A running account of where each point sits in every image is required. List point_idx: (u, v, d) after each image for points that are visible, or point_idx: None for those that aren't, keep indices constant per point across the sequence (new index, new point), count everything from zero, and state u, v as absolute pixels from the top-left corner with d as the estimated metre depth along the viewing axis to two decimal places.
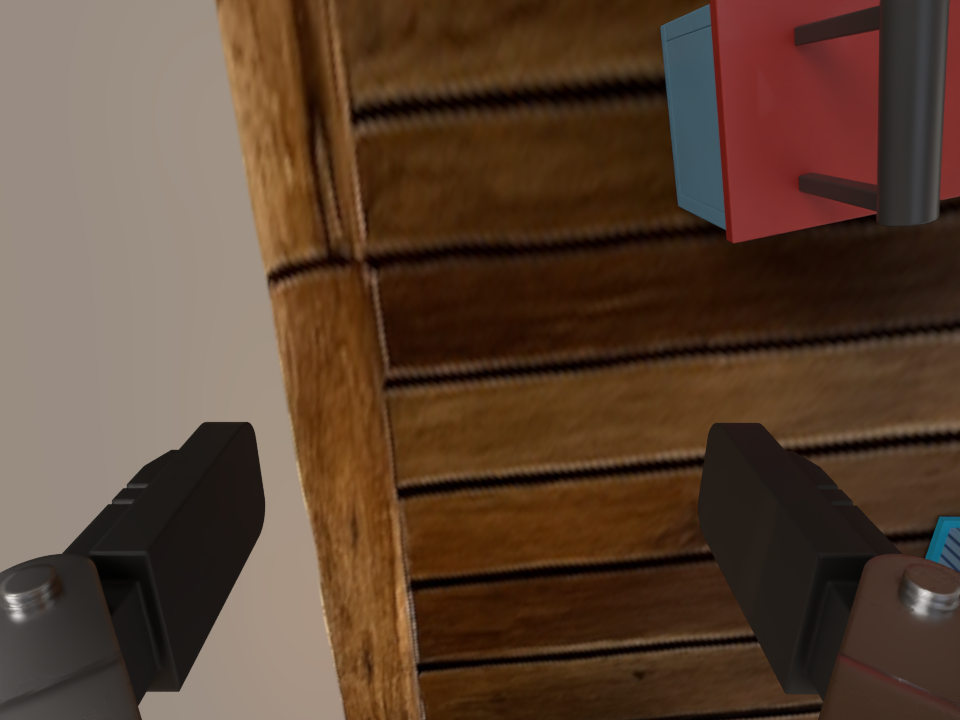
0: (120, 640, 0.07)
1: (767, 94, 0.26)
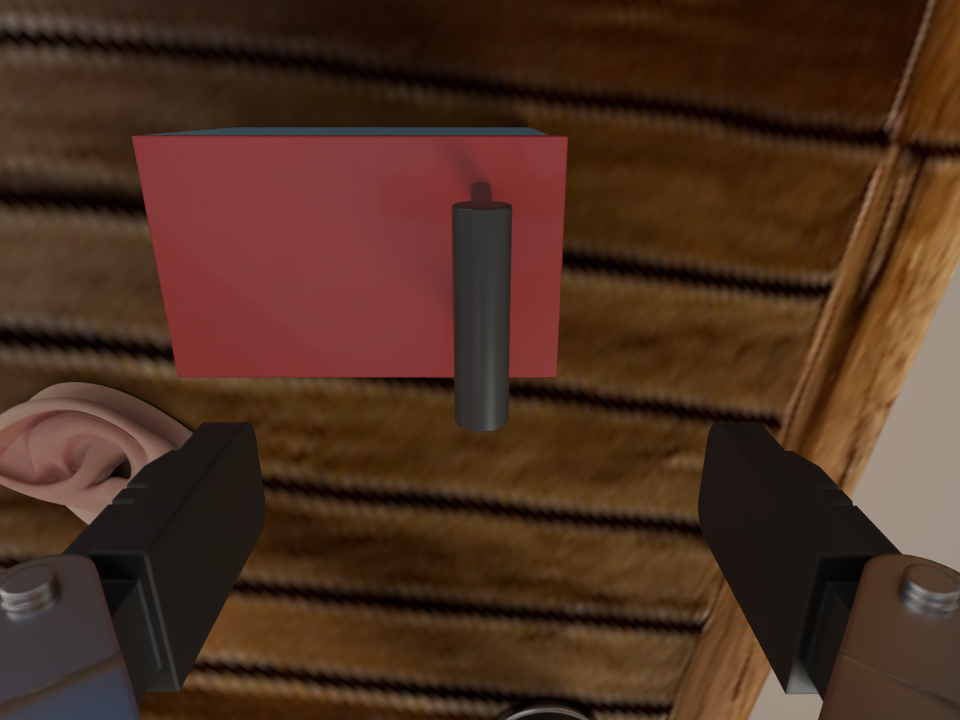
0: (120, 640, 0.07)
1: (516, 288, 0.26)
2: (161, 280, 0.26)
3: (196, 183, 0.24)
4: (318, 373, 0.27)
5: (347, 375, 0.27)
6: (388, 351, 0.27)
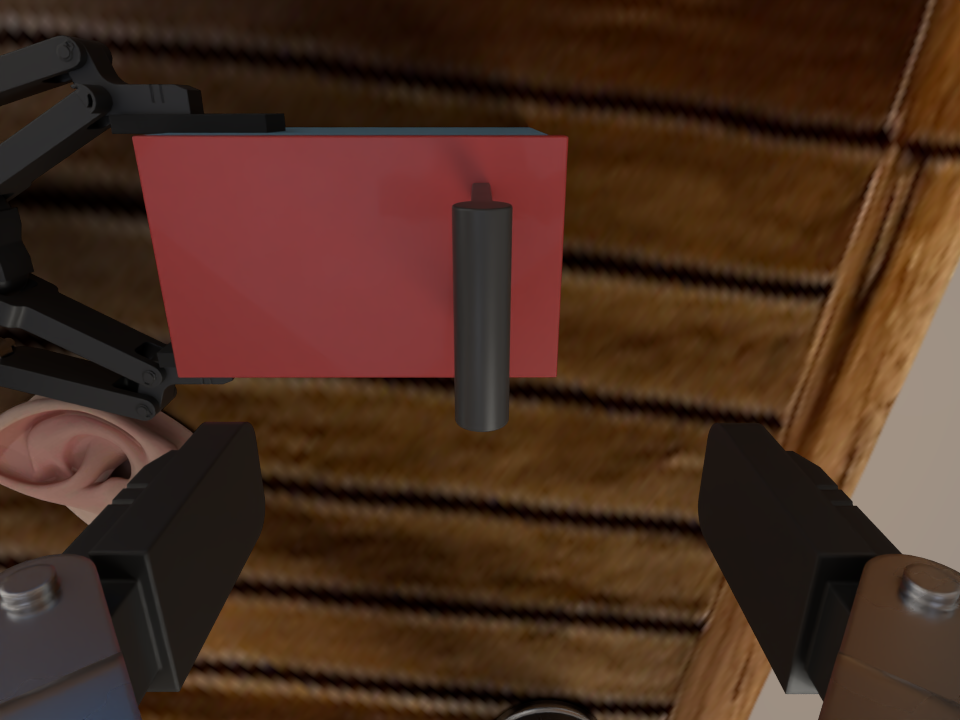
0: (120, 640, 0.07)
1: (516, 289, 0.26)
2: (161, 280, 0.26)
3: (196, 183, 0.24)
4: (318, 373, 0.27)
5: (347, 375, 0.27)
6: (388, 351, 0.27)
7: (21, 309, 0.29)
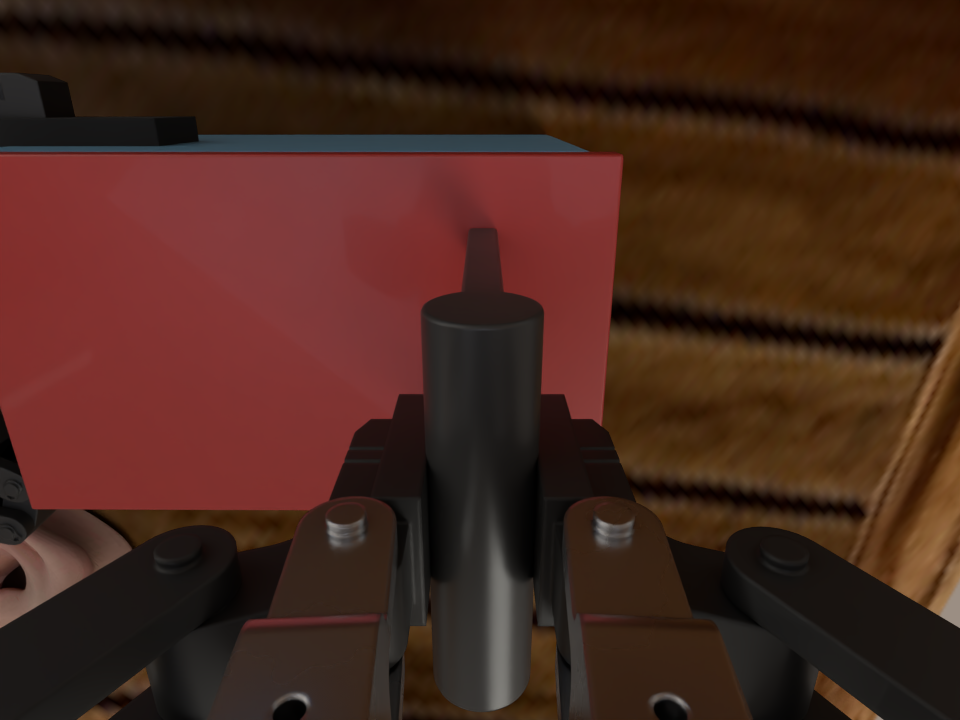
0: (405, 572, 0.08)
1: None
2: None
3: (32, 229, 0.15)
4: (240, 504, 0.18)
5: (283, 508, 0.18)
6: None
7: None
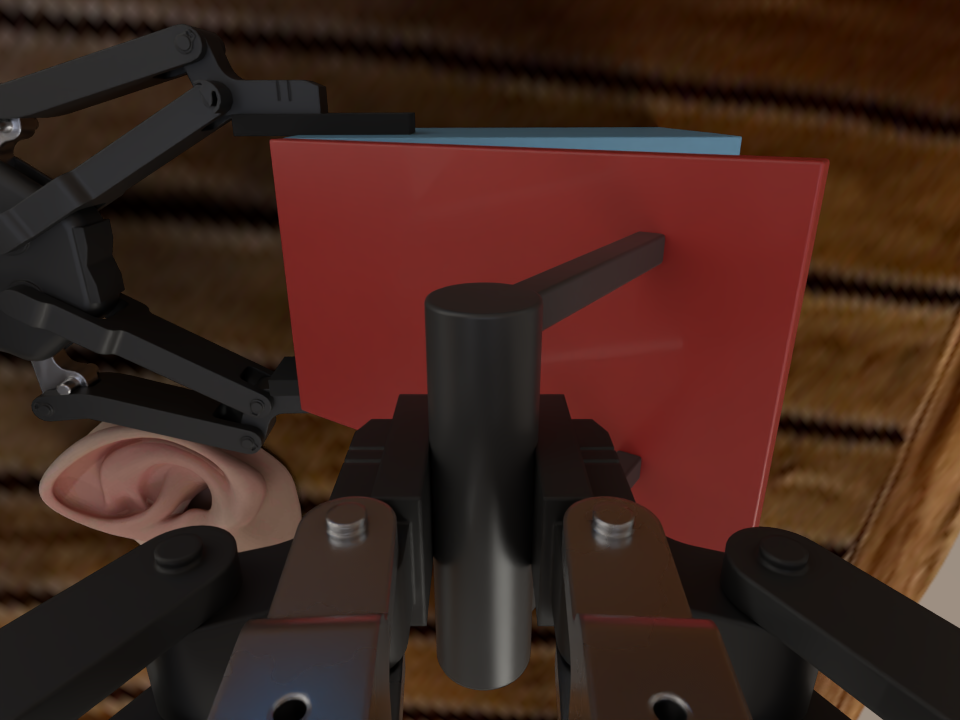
0: (405, 573, 0.08)
1: (693, 412, 0.15)
2: (289, 302, 0.23)
3: (319, 198, 0.20)
4: None
5: None
6: None
7: (118, 334, 0.26)
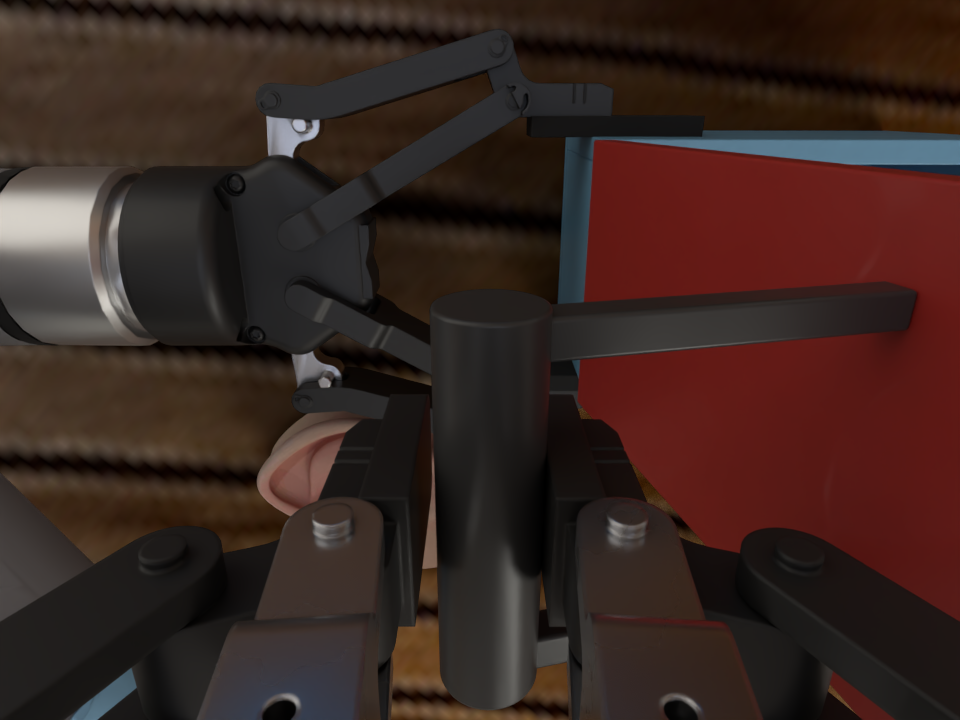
0: (392, 573, 0.08)
1: (913, 551, 0.11)
2: (584, 297, 0.24)
3: (616, 200, 0.20)
4: (650, 478, 0.20)
5: (669, 503, 0.19)
6: (710, 506, 0.17)
7: (388, 329, 0.27)
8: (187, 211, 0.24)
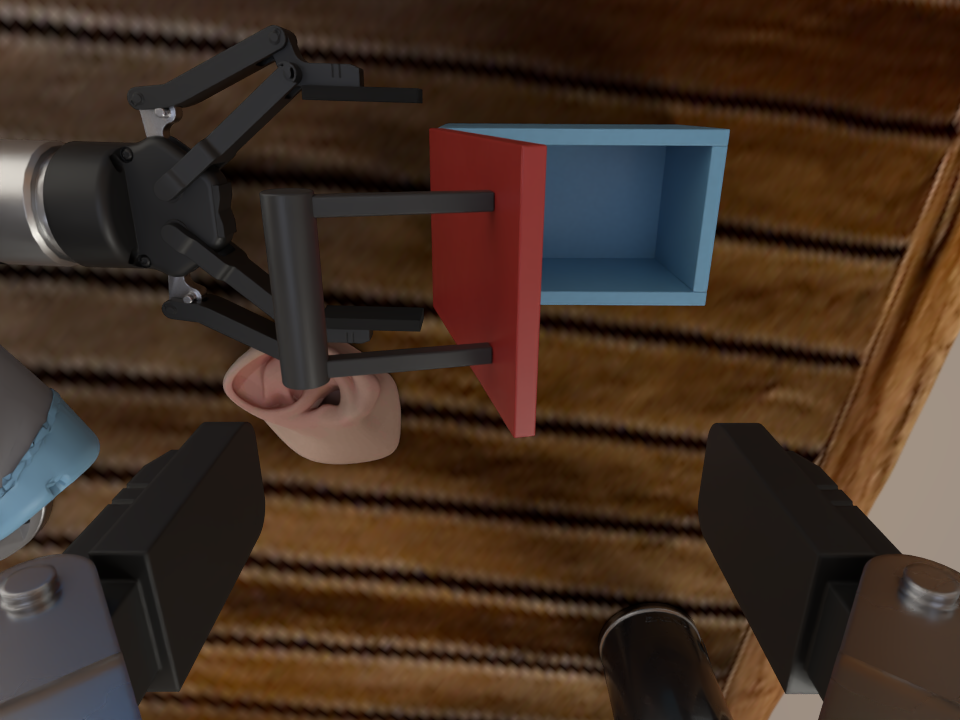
0: (120, 640, 0.07)
1: (501, 316, 0.23)
2: None
3: (437, 165, 0.32)
4: (454, 337, 0.32)
5: None
6: (468, 339, 0.29)
7: (231, 268, 0.39)
8: (89, 171, 0.36)
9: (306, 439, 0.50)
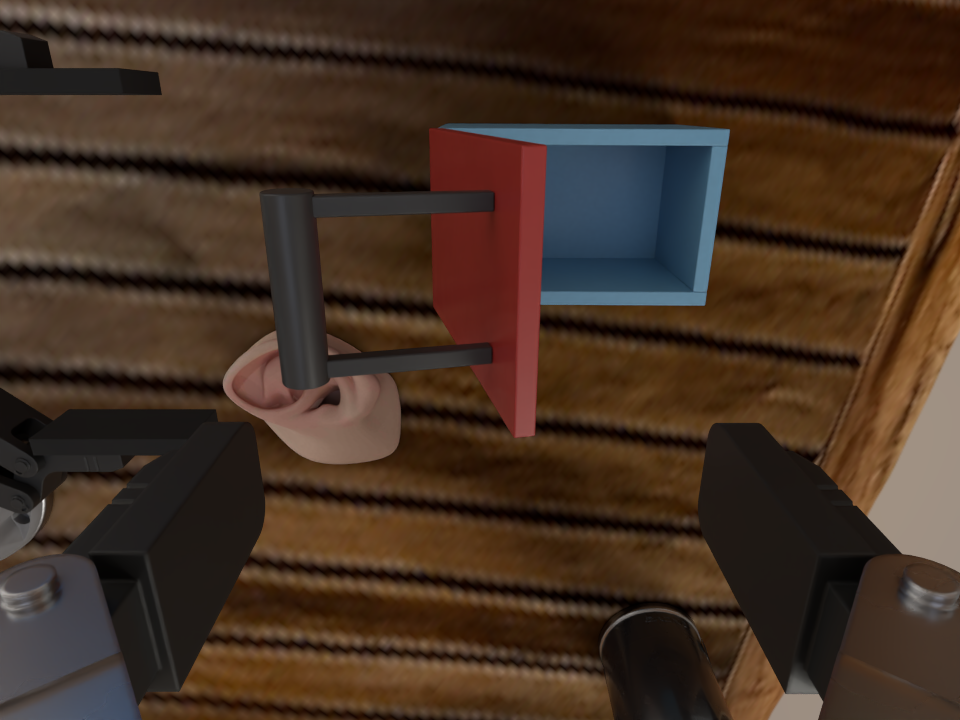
0: (120, 640, 0.07)
1: (501, 316, 0.23)
2: None
3: (437, 165, 0.32)
4: (454, 337, 0.32)
5: None
6: (468, 339, 0.29)
7: None
8: None
9: (306, 439, 0.50)
